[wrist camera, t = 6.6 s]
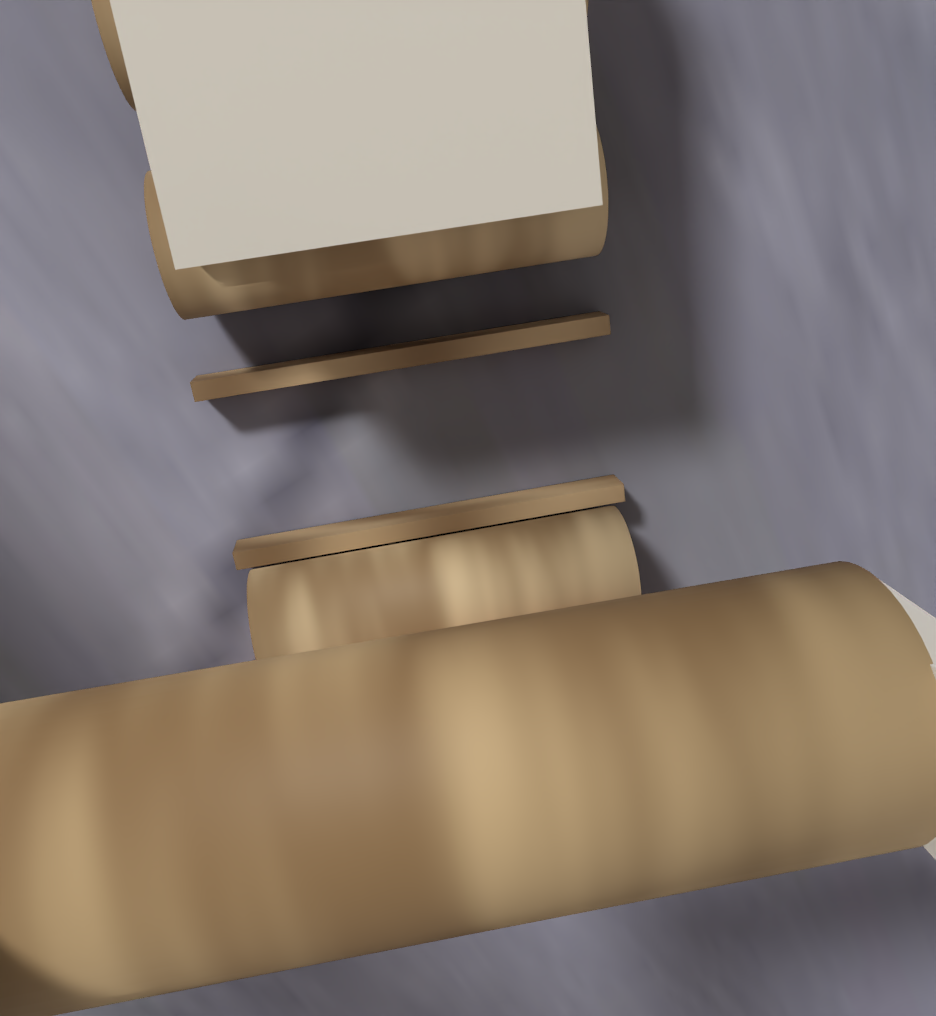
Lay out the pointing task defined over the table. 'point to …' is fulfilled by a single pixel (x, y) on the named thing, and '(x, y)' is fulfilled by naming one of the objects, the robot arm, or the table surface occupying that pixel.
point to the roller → (455, 783)
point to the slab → (357, 117)
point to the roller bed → (426, 562)
